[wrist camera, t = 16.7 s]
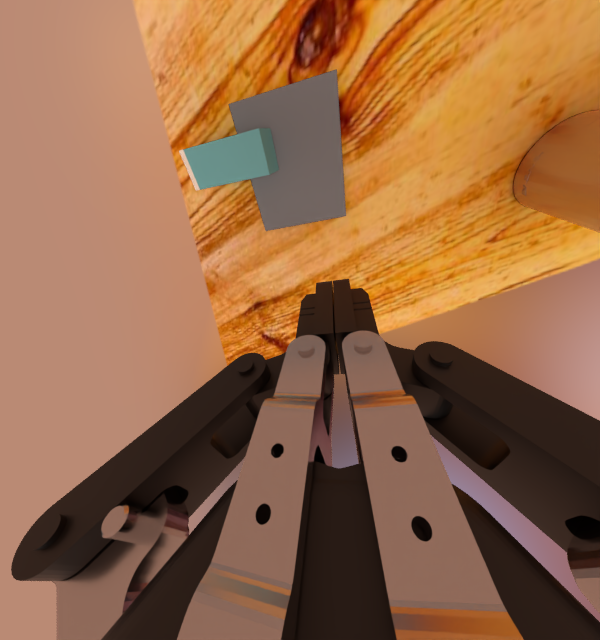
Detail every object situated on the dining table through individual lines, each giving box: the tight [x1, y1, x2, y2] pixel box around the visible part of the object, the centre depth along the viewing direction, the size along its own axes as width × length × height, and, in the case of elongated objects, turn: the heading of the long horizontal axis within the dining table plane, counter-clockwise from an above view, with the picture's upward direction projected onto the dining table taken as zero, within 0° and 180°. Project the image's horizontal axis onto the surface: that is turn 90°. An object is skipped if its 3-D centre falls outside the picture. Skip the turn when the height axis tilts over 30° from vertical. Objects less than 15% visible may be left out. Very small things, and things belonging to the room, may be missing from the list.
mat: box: [229, 69, 346, 231], centre depth 28 cm, size 12×14×1 cm
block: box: [179, 128, 279, 190], centre depth 26 cm, size 4×4×10 cm
